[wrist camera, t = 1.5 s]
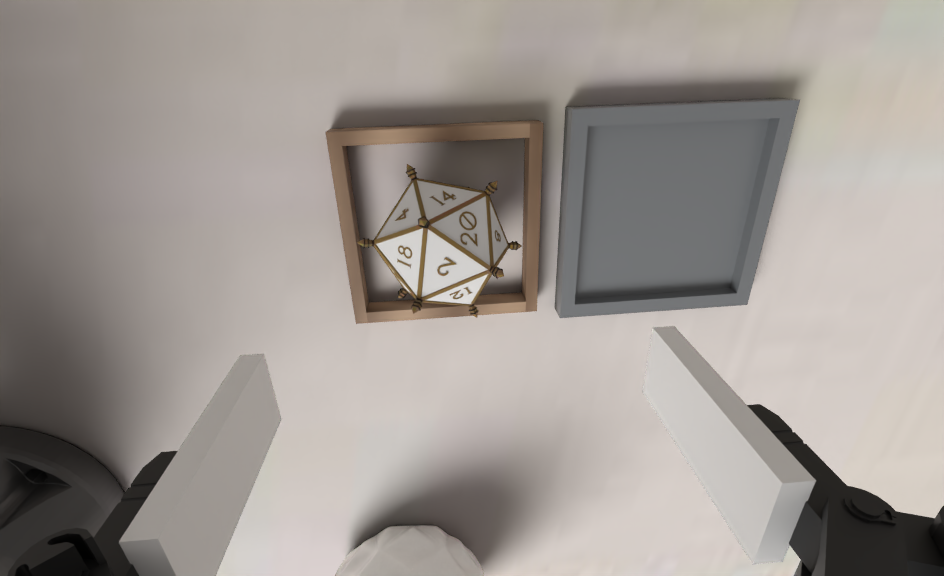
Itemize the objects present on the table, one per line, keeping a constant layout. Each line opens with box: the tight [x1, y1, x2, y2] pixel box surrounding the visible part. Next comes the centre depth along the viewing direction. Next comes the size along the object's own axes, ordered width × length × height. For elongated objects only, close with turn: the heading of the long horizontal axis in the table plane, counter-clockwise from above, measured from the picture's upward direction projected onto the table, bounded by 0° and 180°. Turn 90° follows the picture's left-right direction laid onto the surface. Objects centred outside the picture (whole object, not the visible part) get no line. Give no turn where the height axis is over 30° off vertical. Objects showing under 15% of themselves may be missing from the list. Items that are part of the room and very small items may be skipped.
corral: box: [326, 120, 543, 324], centre depth 30 cm, size 13×13×2 cm
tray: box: [555, 98, 800, 318], centre depth 31 cm, size 14×14×2 cm
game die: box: [357, 164, 521, 318], centre depth 28 cm, size 9×8×10 cm
